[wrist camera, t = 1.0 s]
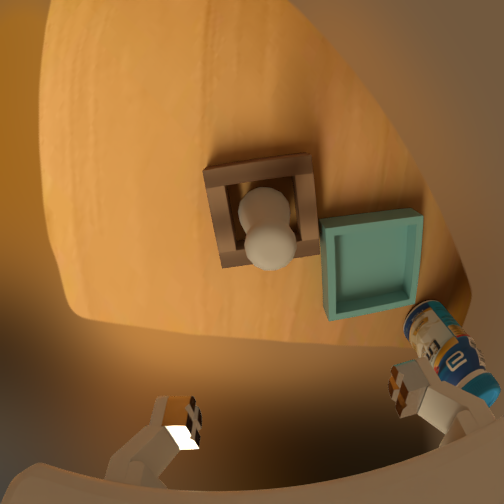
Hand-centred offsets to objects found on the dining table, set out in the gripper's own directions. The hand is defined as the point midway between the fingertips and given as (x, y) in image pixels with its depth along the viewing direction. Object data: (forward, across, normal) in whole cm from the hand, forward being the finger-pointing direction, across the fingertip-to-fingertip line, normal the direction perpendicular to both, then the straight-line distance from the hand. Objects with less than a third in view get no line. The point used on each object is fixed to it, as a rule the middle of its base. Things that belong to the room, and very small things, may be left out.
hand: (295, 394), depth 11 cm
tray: (+27, -13, +9) cm, 31 cm away
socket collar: (+27, 0, 0) cm, 27 cm away
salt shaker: (+27, 0, 0) cm, 27 cm away
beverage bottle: (+28, -24, +22) cm, 43 cm away
